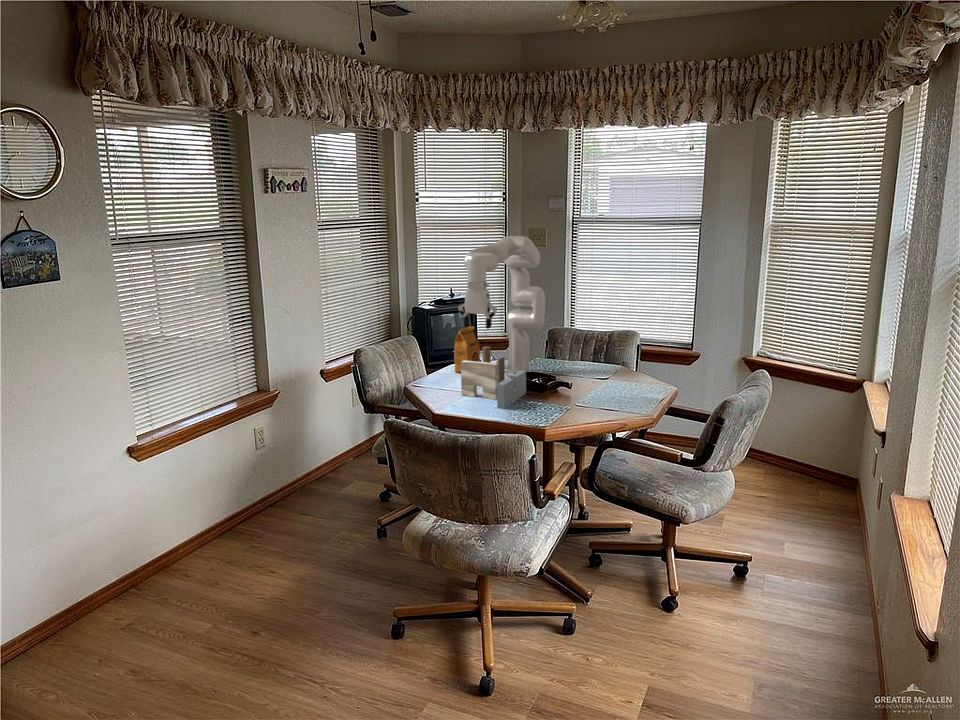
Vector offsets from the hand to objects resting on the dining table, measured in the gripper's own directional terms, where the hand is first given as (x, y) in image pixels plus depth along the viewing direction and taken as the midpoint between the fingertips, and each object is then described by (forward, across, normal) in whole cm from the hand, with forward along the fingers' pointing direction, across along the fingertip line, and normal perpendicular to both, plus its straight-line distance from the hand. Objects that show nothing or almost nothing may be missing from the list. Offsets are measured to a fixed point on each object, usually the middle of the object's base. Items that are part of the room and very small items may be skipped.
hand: (477, 327), depth 276 cm
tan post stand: (+31, +3, -21) cm, 38 cm away
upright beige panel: (+31, +2, -5) cm, 32 cm away
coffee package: (+31, +26, -42) cm, 58 cm away
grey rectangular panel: (+31, -13, -5) cm, 34 cm away
